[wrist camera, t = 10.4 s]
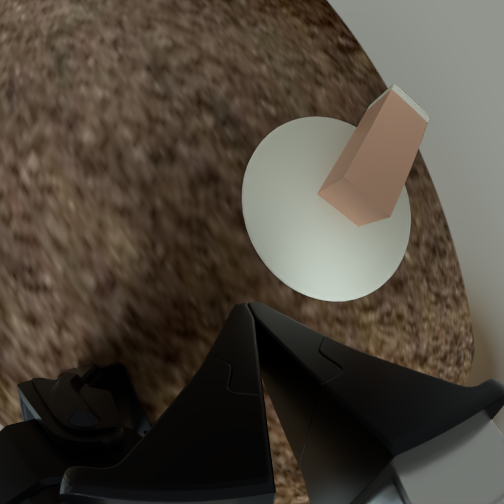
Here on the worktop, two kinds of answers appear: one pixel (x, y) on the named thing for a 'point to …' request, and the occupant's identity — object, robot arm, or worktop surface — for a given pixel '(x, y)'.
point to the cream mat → (316, 216)
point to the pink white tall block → (376, 159)
